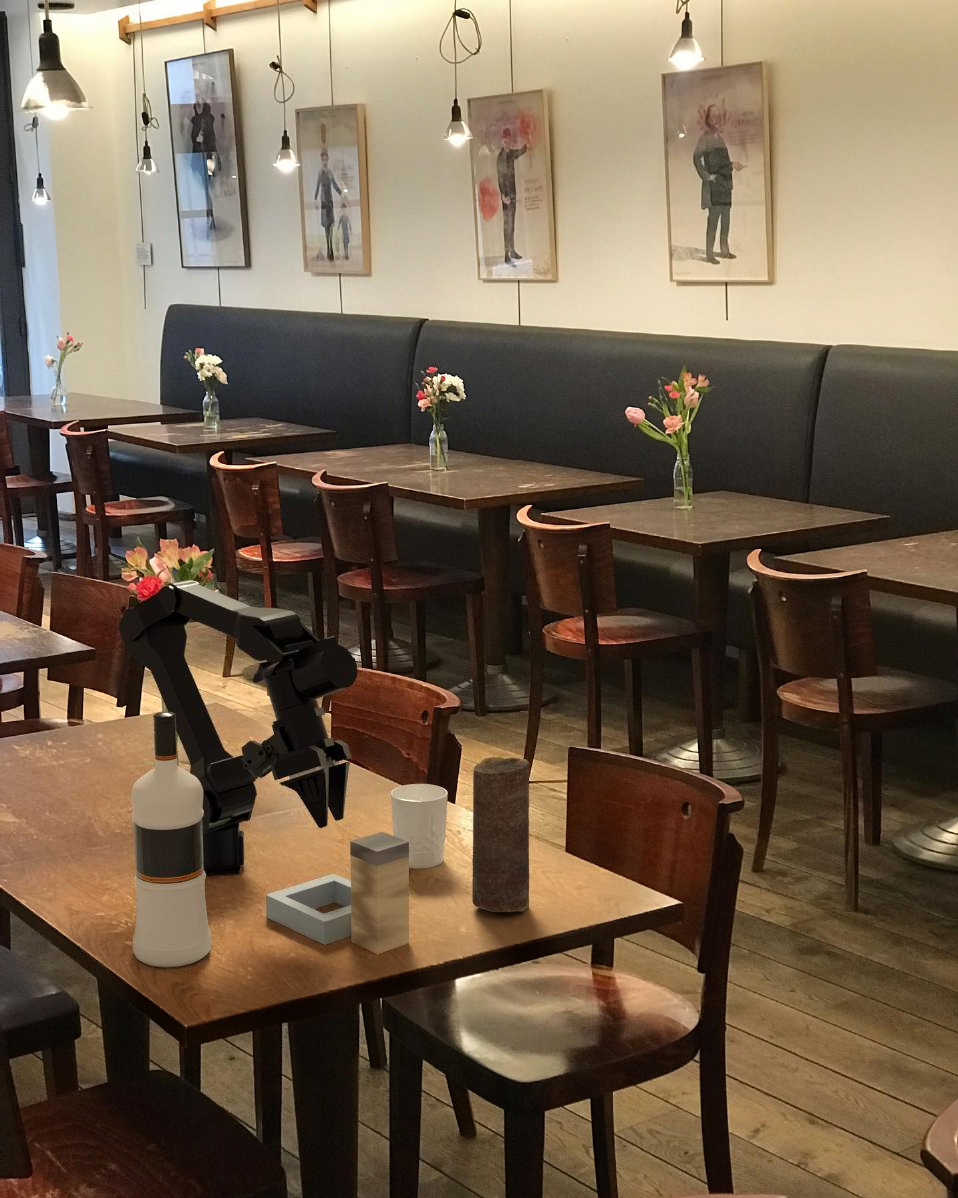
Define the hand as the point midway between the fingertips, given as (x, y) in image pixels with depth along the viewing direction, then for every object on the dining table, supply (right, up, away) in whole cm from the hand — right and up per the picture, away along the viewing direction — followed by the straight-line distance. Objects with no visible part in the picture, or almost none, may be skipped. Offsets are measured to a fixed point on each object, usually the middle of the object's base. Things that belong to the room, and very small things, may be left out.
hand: (331, 823), depth 205 cm
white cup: (+10, -8, +20) cm, 24 cm away
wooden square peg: (+7, -13, -9) cm, 17 cm away
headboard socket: (0, -12, -1) cm, 12 cm away
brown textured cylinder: (+22, -12, +2) cm, 25 cm away
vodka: (-18, -14, -12) cm, 26 cm away
